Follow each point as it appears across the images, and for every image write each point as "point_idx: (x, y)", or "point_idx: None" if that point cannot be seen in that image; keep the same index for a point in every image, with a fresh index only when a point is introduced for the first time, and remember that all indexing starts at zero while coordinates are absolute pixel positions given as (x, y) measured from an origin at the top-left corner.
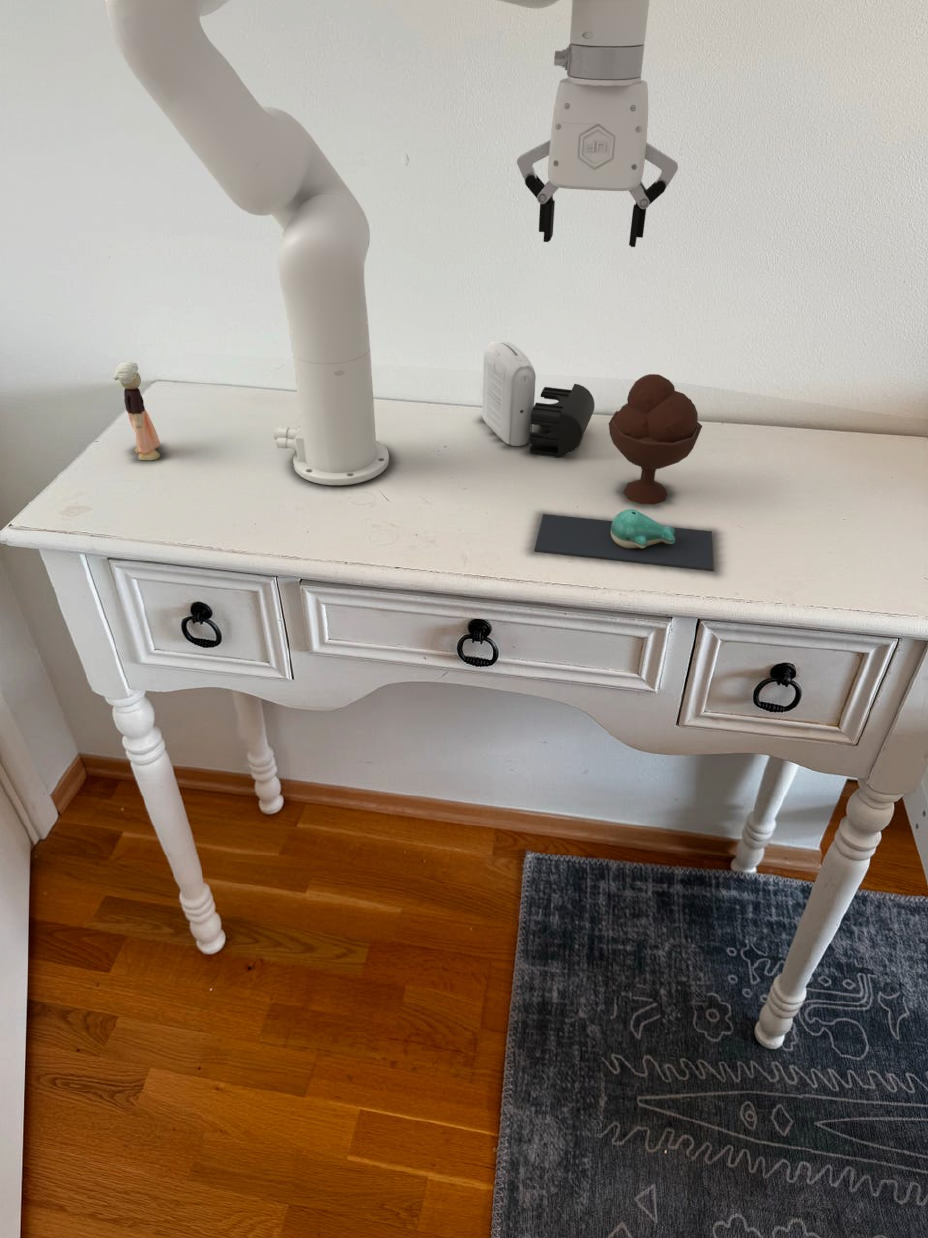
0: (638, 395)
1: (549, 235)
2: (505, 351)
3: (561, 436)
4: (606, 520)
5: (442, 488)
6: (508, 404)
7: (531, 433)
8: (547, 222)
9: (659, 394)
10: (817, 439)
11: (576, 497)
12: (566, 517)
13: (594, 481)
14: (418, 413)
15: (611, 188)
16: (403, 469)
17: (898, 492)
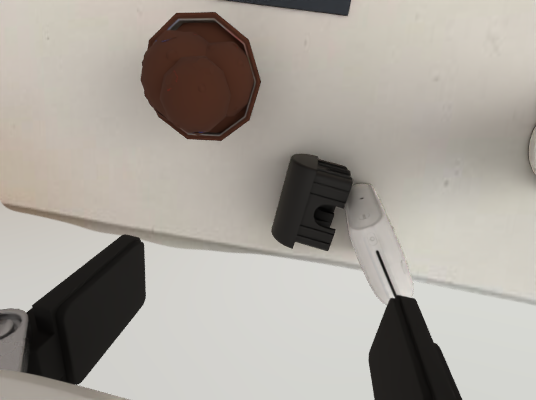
0: (211, 69)
1: (397, 307)
2: (393, 261)
3: (314, 160)
4: (275, 5)
5: (465, 78)
6: (380, 203)
7: (348, 173)
8: (422, 342)
9: (180, 62)
10: (73, 198)
11: (304, 66)
12: (320, 8)
13: (281, 105)
14: (467, 261)
15: (76, 390)
16: (510, 125)
17: (7, 97)
